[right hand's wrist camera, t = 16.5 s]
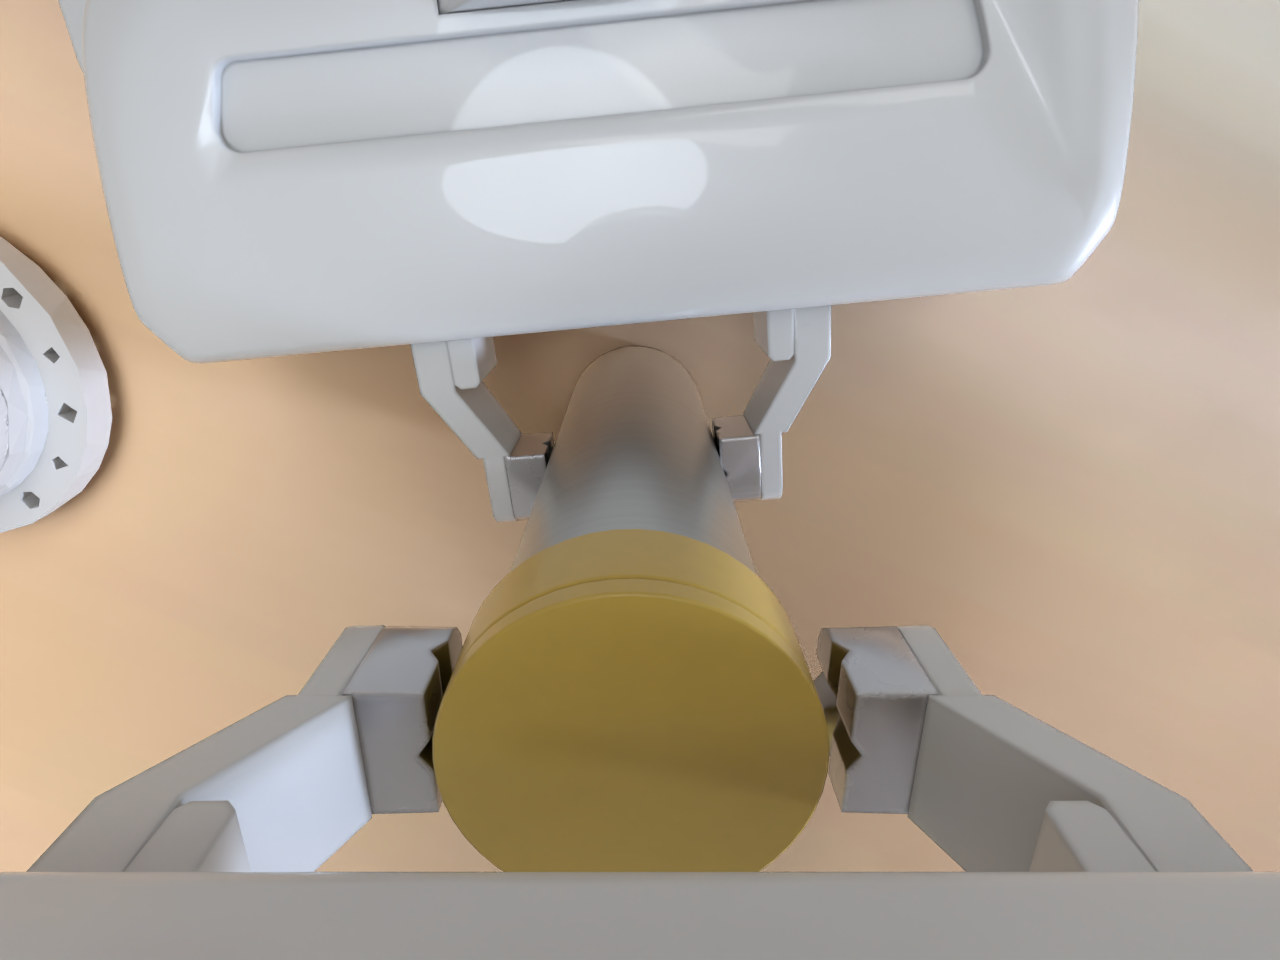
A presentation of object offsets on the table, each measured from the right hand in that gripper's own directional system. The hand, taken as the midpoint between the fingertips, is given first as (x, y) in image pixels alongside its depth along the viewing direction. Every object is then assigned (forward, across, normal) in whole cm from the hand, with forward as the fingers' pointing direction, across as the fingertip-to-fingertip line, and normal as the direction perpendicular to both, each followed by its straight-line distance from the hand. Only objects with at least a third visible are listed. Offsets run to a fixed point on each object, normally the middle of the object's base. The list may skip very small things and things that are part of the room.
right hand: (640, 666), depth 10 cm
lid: (-2, 0, 0) cm, 2 cm away
